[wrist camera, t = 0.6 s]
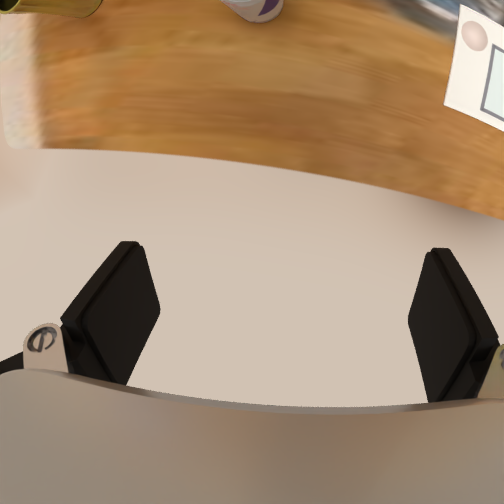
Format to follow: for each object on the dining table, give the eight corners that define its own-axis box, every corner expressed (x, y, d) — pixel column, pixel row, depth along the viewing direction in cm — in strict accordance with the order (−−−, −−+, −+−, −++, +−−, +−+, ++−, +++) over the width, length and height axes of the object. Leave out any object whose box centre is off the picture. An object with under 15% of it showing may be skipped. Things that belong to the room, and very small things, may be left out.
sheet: (459, 4, 23) (461, 3, 22) (539, 51, 22) (541, 52, 22) (442, 104, 30) (444, 105, 30) (521, 141, 30) (523, 141, 29)
